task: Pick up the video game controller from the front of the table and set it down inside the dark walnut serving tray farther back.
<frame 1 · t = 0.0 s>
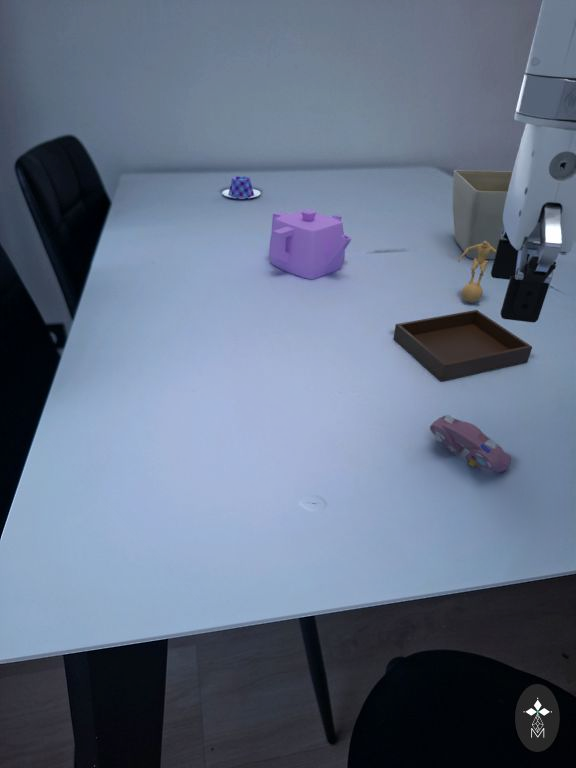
hand: (511, 297, 52), 24 cm above the table, tool pointing down, fingers open, 9 cm apart
flower pot: (487, 251, 132), on the table
pudding: (241, 196, 167), on the table
tray: (458, 350, 91), on the table
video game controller: (465, 459, 68), on the table
teakettle: (309, 266, 121), on the table
figurine: (470, 300, 108), on the table
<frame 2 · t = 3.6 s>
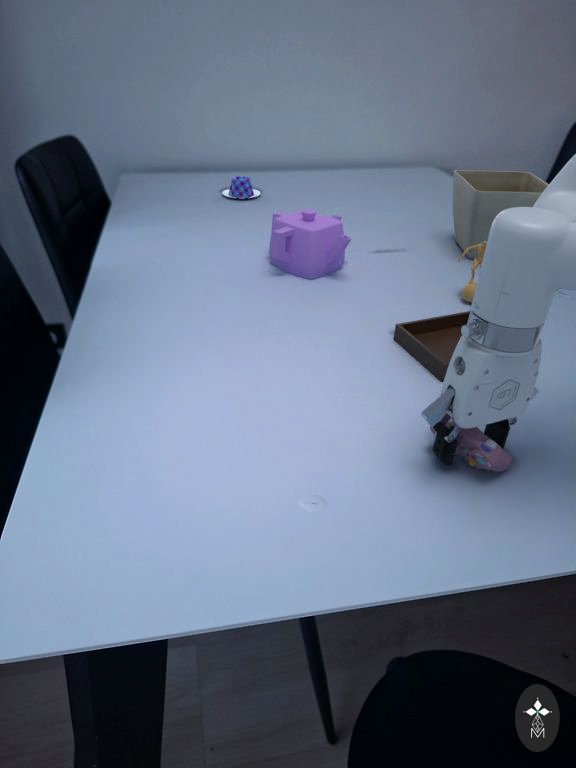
hand: (467, 450, 67), 1 cm above the table, tool pointing down, fingers closed on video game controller, 7 cm apart
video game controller: (465, 459, 68), on the table, touching gripper
everything else where it was.
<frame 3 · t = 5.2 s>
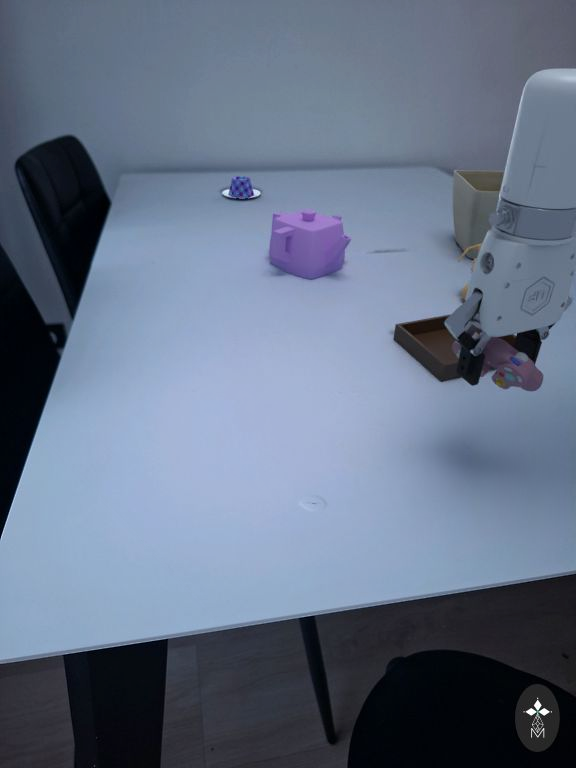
hand: (494, 371, 61), 13 cm above the table, tool pointing down, fingers closed on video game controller, 7 cm apart
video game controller: (491, 381, 62), point 12 cm above the table, touching gripper
everything else where it was.
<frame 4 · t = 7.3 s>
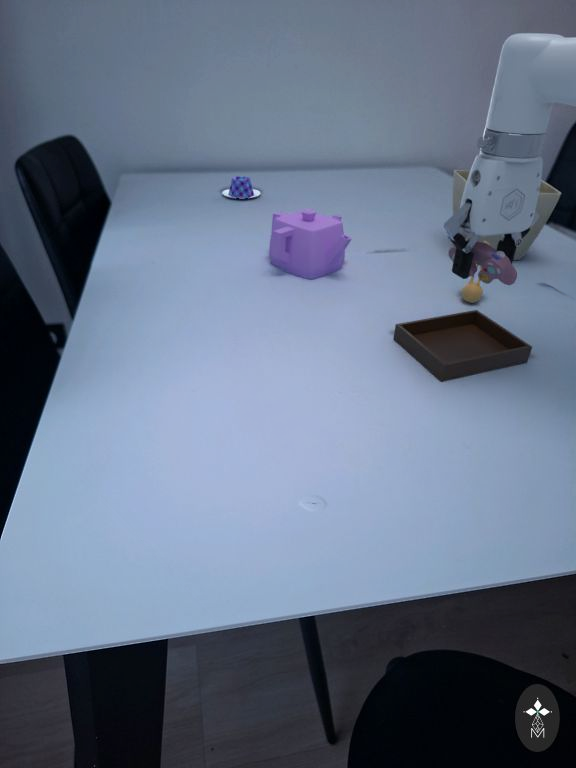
hand: (480, 271, 80), 15 cm above the table, tool pointing down, fingers closed on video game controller, 7 cm apart
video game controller: (478, 280, 81), point 14 cm above the table, touching gripper
everything else where it was.
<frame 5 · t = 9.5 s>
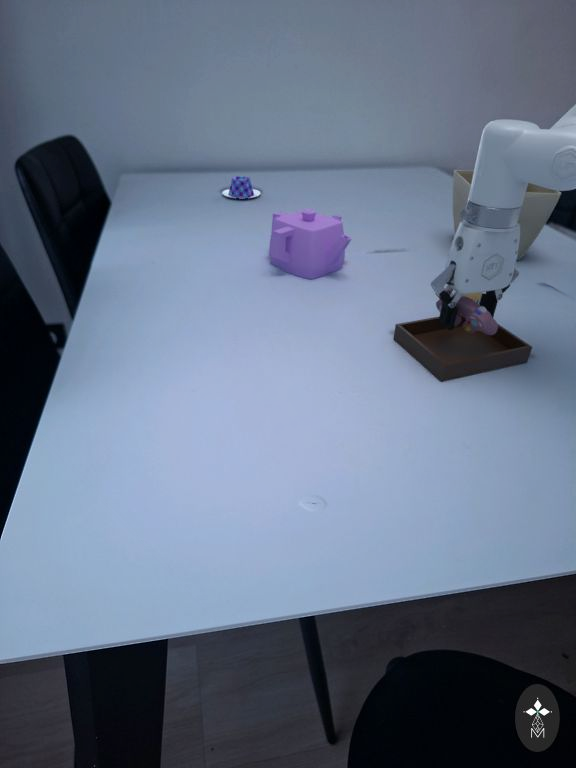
hand: (465, 321, 88), 5 cm above the table, tool pointing down, fingers closed on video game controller, 7 cm apart
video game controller: (462, 329, 89), point 4 cm above the table, touching gripper
everything else where it was.
when the fingers open (2 cm above the table, at t = 11.0 s): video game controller stays where it is, resting on tray.
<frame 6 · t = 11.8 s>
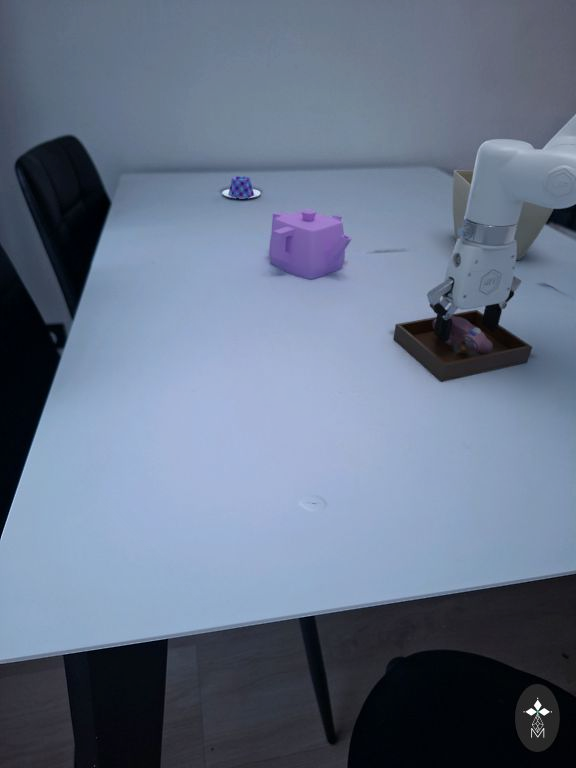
hand: (465, 332, 89), 4 cm above the table, tool pointing down, fingers open, 9 cm apart
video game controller: (458, 348, 91), resting on tray
everything else where it was.
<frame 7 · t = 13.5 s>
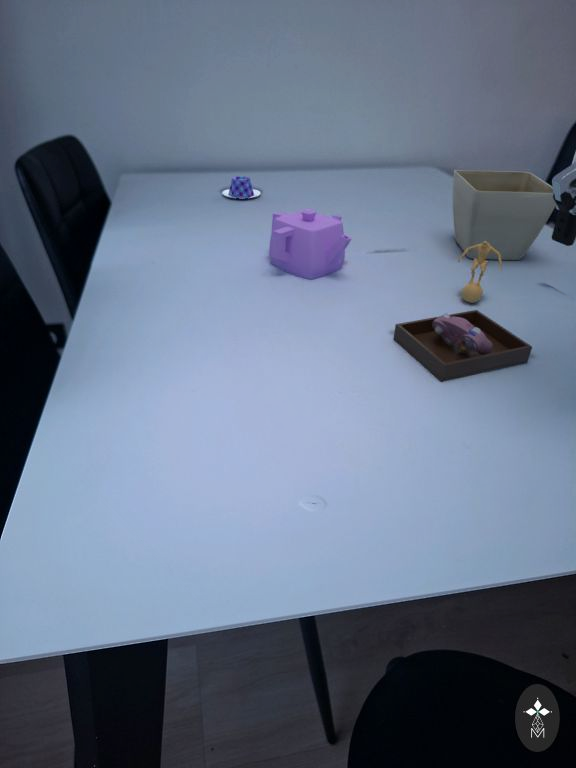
nothing on the table moved.
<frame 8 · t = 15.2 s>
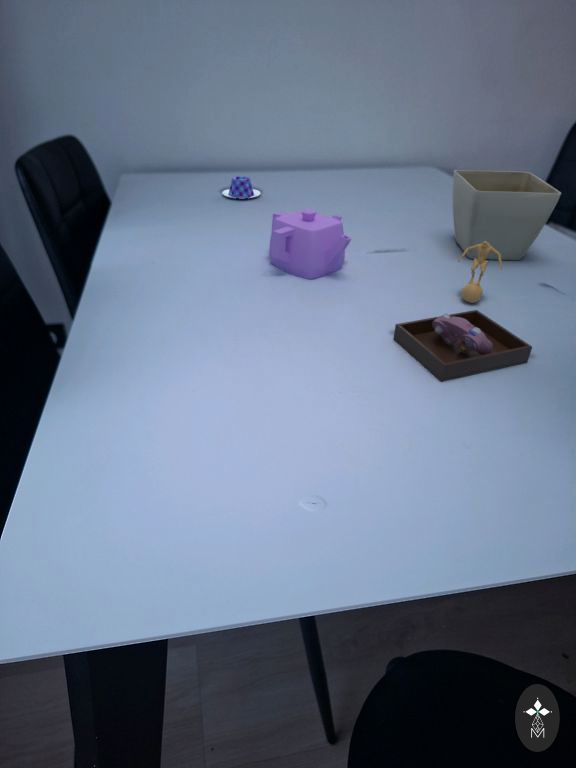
nothing on the table moved.
at the end: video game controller inside the target area in the tray (0.1 cm from its centre), point 0.3 cm above the tray's base; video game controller tilted 1°; the gripper is holding nothing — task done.
